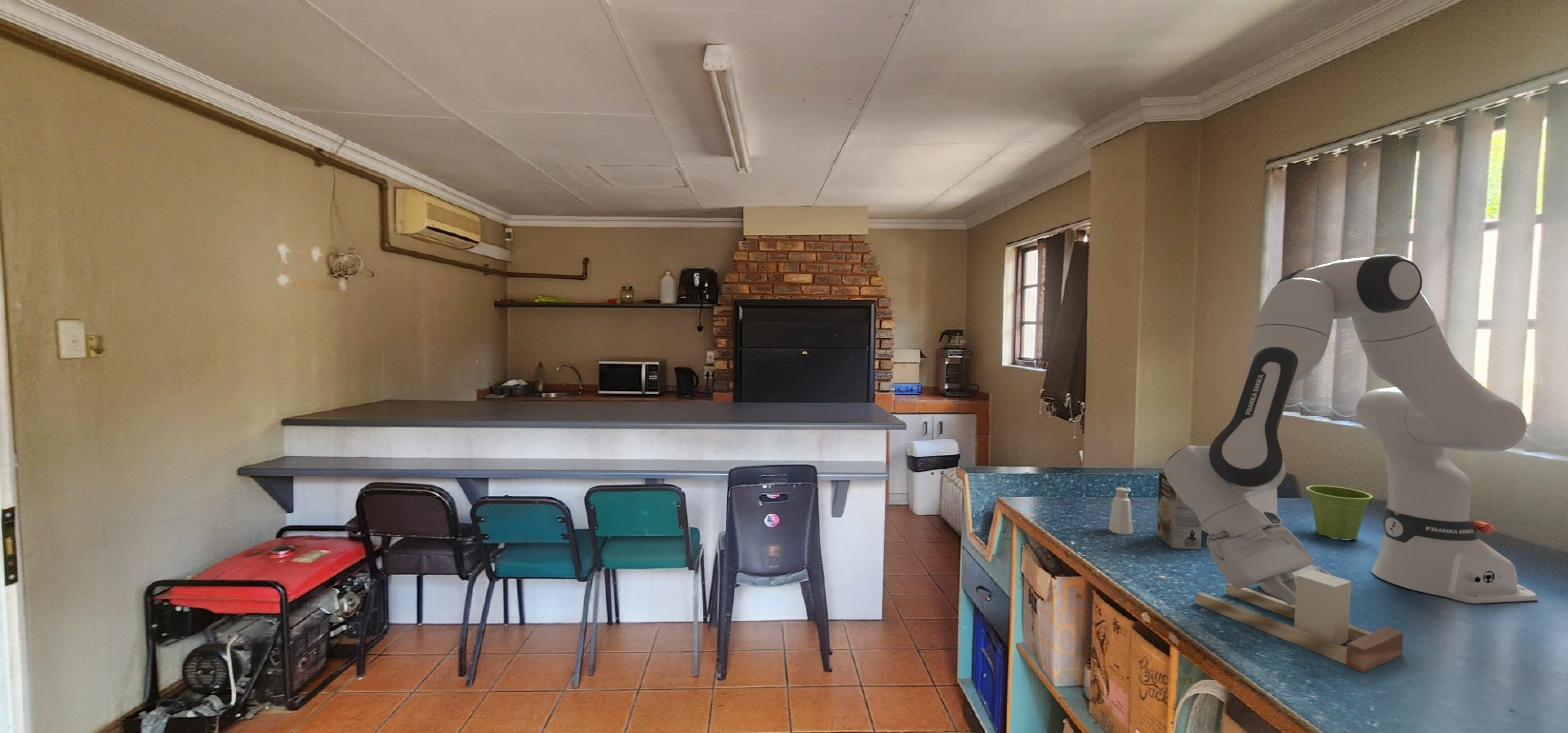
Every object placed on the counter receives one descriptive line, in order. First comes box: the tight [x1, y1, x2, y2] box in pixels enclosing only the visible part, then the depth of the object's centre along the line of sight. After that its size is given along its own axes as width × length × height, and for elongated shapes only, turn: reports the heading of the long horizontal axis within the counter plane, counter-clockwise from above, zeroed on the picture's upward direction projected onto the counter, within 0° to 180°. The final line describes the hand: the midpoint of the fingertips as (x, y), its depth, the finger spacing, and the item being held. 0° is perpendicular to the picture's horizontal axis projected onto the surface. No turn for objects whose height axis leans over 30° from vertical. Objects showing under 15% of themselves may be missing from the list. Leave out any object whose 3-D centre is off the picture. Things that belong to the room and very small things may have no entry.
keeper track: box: [1194, 582, 1404, 674], centre depth 100 cm, size 24×12×4 cm, turn 24°
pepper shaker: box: [1108, 487, 1134, 535], centre depth 147 cm, size 5×5×11 cm
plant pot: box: [1305, 484, 1374, 540], centre depth 143 cm, size 12×12×11 cm
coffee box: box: [1156, 471, 1203, 551], centre depth 139 cm, size 9×6×16 cm
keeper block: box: [1293, 570, 1352, 646], centre depth 95 cm, size 5×5×10 cm
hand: (1298, 602), depth 98 cm, fingers closed, pressing on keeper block
